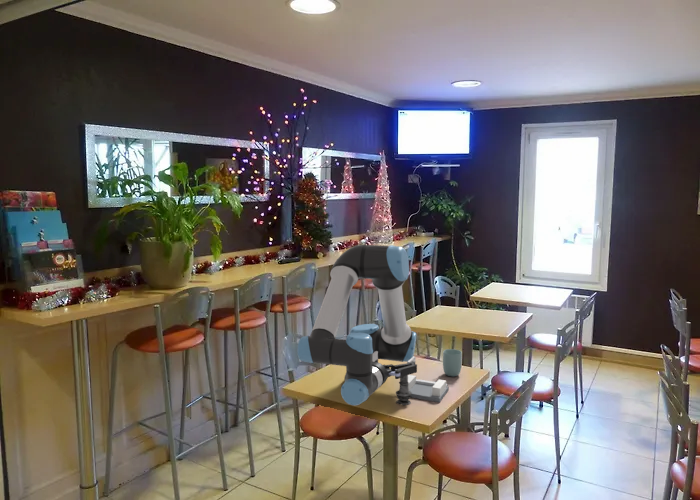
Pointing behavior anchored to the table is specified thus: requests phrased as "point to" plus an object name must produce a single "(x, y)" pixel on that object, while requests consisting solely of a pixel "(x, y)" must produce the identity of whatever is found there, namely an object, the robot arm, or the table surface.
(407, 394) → the salt shaker
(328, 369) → the table surface
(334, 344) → the robot arm
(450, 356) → the cup
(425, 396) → the rail board
